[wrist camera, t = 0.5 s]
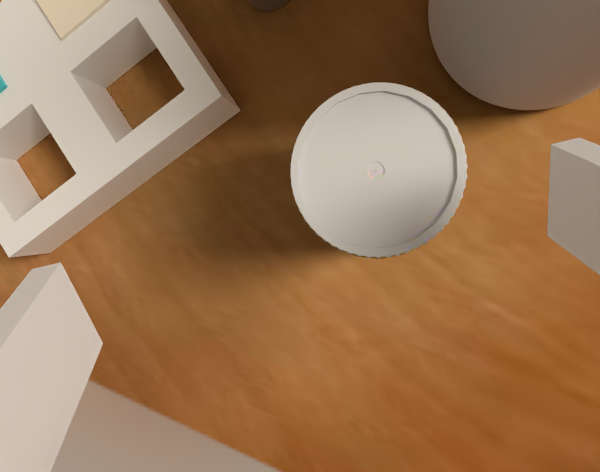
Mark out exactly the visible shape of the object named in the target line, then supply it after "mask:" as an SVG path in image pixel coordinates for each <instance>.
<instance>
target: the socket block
mask: <svg viewBox="0 0 600 472" xmlns="http://www.w3.org/2000/svg"><path fill="white" fill-rule="evenodd" d="M156 48H158V50H159V51H160V53H161V54H162V56H163V57H164V59H165V60H166V62H167V64H168V65H169V67H170V68H171V70H172V71H173V73H174V74H175V76H176V77H177V79H178V80H179V82H180V83H181V85H182V86H183V88H184V89H185V90H184V91H183V92H181V93H180V94H179V95H178V96H176V97H175V98H174V99H172V100H171V101H170V102H169V103H167V104H166V105H165V106H163V107H162V108H161V109H159V110H158V111H157V112H156V113H154V114H153V115H152V116H150V117H149V118H148V119H147V120H145V121H144V122H143V123H141V124H140V125H139V126H138V127H136V128H135V129H134V130H132V128H131V126H130V125H129V123H128V122H127V120H126V119H125V117H124V116H123V114H122V113H121V111H120V110H119V108H118V106H117V105H116V103H115V102H114V100H113V99H112V97H111V96H110V94H109V93H108V91H107V89H106V88H107V87H108V86H110V85H111V84H112V83H113V82H115V81H116V80H117V79H118V78H120V77H121V76H122V75H123V74H125V73H126V72H127V71H128V70H130V69H131V68H132V67H133V66H135V65H136V64H137V63H138V62H140V61H141V60H142V59H143V58H145V57H146V56H147V55H148V54H150V53H151V52H152V51H153V50H155V49H156ZM239 111H241V110H240V109H239V107H238V106H237V104H236V103H235V101H234V100H233V98H232V97H231V95H230V94H229V92H228V91H227V89H226V88H225V86H224V85H223V83H222V82H221V80H220V79H219V77H218V76H217V74H216V73H215V71H214V70H213V68H212V67H211V65H210V64H209V62H208V61H207V59H206V58H205V56H204V55H203V53H202V52H201V50H200V49H199V47H198V46H197V44H196V43H195V41H194V40H193V38H192V37H191V35H190V34H189V32H188V31H187V29H186V28H185V26H184V25H183V23H182V22H181V20H180V19H179V17H178V16H177V14H176V13H175V11H174V10H173V8H172V7H171V5H170V4H169V2H168V1H167V0H2V1H1V2H0V244H1V246H2V247H3V249H4V250H5V252H6V254H7V255H8V257H18V256H28V255H37V254H46V253H51V252H52V251H54V250H55V249H56V248H58V247H59V246H60V245H62V244H63V243H64V242H66V241H67V240H68V239H70V238H71V237H72V236H74V235H75V234H76V233H78V232H79V231H80V230H82V229H83V228H84V227H86V226H87V225H88V224H90V223H91V222H92V221H94V220H95V219H96V218H98V217H99V216H100V215H102V214H103V213H104V212H106V211H107V210H108V209H110V208H111V207H112V206H114V205H115V204H117V203H118V202H119V201H121V200H122V199H123V198H125V197H126V196H127V195H129V194H130V193H131V192H133V191H134V190H135V189H137V188H138V187H139V186H141V185H142V184H143V183H145V182H146V181H147V180H149V179H150V178H151V177H153V176H154V175H155V174H157V173H158V172H159V171H161V170H162V169H163V168H165V167H166V166H167V165H169V164H170V163H171V162H173V161H174V160H175V159H177V158H178V157H179V156H181V155H182V154H183V153H185V152H186V151H187V150H189V149H190V148H191V147H193V146H194V145H195V144H197V143H198V142H199V141H201V140H202V139H203V138H205V137H206V136H207V135H209V134H210V133H211V132H213V131H214V130H215V129H217V128H218V127H219V126H221V125H222V124H223V123H225V122H226V121H227V120H229V119H230V118H231V117H233V116H234V115H235V114H237V113H238V112H239ZM50 133H51V135H52V136H53V138H54V139H55V141H56V142H57V144H58V146H59V147H60V149H61V150H62V152H63V153H64V155H65V157H66V158H67V160H68V161H69V163H70V164H71V166H72V168H73V169H74V171H75V172H76V175H74V176H73V177H72V178H70V179H69V180H68V181H67V182H65V183H64V184H63V185H61V186H60V187H59V188H58V189H56V190H55V191H54V192H52V193H51V194H50V195H49V196H47V197H46V198H45V199H43V200H41V198H40V197H39V195H38V194H37V192H36V191H35V189H34V187H33V186H32V184H31V183H30V181H29V179H28V178H27V176H26V175H25V173H24V171H23V170H22V168H21V167H20V165H19V163H18V162H17V160H18V159H19V158H20V157H21V156H23V155H24V154H25V153H26V152H28V151H29V150H30V149H31V148H33V147H34V146H35V145H36V144H38V143H39V142H40V141H41V140H43V139H44V138H45V137H46V136H47V135H49V134H50Z"/></svg>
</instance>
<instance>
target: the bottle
mask: <svg viewBox="0 0 600 472" xmlns="http://www.w3.org/2000/svg"><path fill="white" fill-rule="evenodd" d="M464 148H465V146H464V144H463V142H462V137H461V135H460V134H459V131H458V128H457V126H455V124H454V122H453V120H452V118H451V117H450V116H449V115H448V114H447V112H446V111H445V110H444V109H443V108H442V107H441V106H440V105H439V104H438V103H436V102H435V101H434V100H432V98H430V97H428V96H427V95H425V94H423V93H422V92H419V91H417V90H415V89H413V88H410V87H407V86H405V85H400V84H395V83H385V82H378V83H375V82H374V83H367V84H362V85H358V86H353V87H351V88H348V89H345V90H343V91H341V92H339V93H338V94H335V95H334V96H332V97H331V98H329V99H328V100H326V101H325V102H324V103H323V104H322V105H320V106H319V107H318V108H317V109H316V110H315V111H314V112H313V113H312V115H311V116H310V117H309V119H308V120H307V121H306V123H305V124H304V126H303V128H302V129H301V131H300V133H299V135H298V137H297V140H296V143H295V145H294V148H293V149H294V150H293V154H292V156H291V158H292V160H291V164H290V168H291V173H290V177H291V187H292V189H293V196H294V197H295V200H296V201H295V203H296V205H298V207H299V212H300V213H301V214H302V215H303V217H304V220H305V221H306V222H308V224H309V227H310V228H311V229H313V230H314V231H315V232H316V234H317V235H318V236H321V237H322V238H323V240H324V241H325V242H326V241H327V242H329V243H330V245H331V246H333V247H334V246H335V247H336V248H339V250H341V251H345V252H347V253H348V254H352V255H355V256H358V257H367V258H375V259H381V258H388V257H393V256H398V255H402V254H405V253H408V252H410V251H411V250H413V249H417V248H419V246H421V245H422V244H426V243H427V241H428V240H430V239H433V238H434V237H435V235H436V234H437V233H438V232H441V231H442V230H443V227H444V226H445V225H447V224H448V223H449V220H450V218H451V217H452V216H454V214H455V210H456V208H458V207H459V205H460V204H459V202H460V199H461V198H462V197H463V190H464V188H465V186H466V184H465V181H466V178H467V174H466V170H467V164H466V158H467V156H466V154H465V149H464Z"/></svg>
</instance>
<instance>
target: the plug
mask: <svg viewBox="0 0 600 472" xmlns="http://www.w3.org/2000/svg"><path fill="white" fill-rule="evenodd" d="M246 1H247V3H248V4H249V5H250V6H252V7H253V8H255V9H257V10H260V11H274V10H277V9H280V8H282V7H283V6H285V5H286V4H287V3H288V2H289V1H290V0H246Z"/></svg>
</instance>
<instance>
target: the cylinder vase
mask: <svg viewBox="0 0 600 472" xmlns="http://www.w3.org/2000/svg"><path fill="white" fill-rule="evenodd" d="M428 22H429V31H430V36H431V40H432V43H433V46H434V49H435V52H436V54H437V56H438V58H439V60H440V62H441V64H442V65H443V67H444V68H445V70H446V71H447V72H448V74H449V75H450V76H451V77H452V78H453V79H454V80H455V81H456V82H457V83H458V84H459V85H460V86H461V87H462V88H463V89H465V90H466V91H467V92H469V93H470V94H472V95H474V96H475V97H477V98H479V99H481V100H483V101H485V102H488V103H490V104H493V105H496V106H500V107H504V108H509V109H515V110H541V109H548V108H553V107H557V106H561V105H565V104H568V103H570V102H573V101H575V100H578V99H580V98H582V97H584V96H586V95H588V94H590V93H591V92H593V91H595V90H597V89H598V88H600V0H429V6H428Z"/></svg>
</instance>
